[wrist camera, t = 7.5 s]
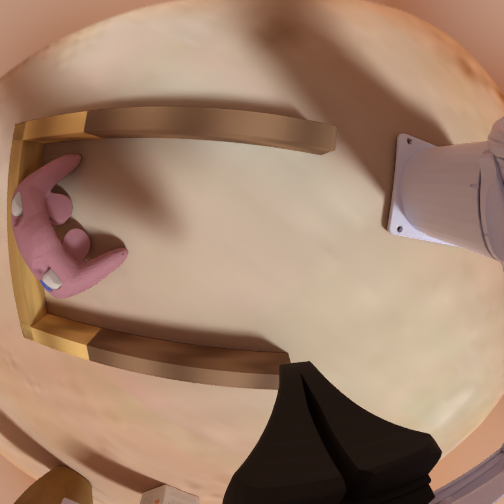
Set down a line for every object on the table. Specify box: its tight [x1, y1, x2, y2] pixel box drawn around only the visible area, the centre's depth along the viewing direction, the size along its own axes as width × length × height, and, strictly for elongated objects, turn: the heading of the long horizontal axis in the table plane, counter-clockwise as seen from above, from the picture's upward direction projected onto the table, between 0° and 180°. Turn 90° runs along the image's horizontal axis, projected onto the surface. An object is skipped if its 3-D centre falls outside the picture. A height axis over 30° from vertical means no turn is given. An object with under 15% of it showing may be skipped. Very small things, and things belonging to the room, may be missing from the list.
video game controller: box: [11, 153, 128, 299], centre depth 16 cm, size 10×5×7 cm, turn 28°
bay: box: [7, 106, 337, 390], centre depth 17 cm, size 24×18×3 cm
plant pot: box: [14, 465, 93, 504], centre depth 20 cm, size 15×15×16 cm
